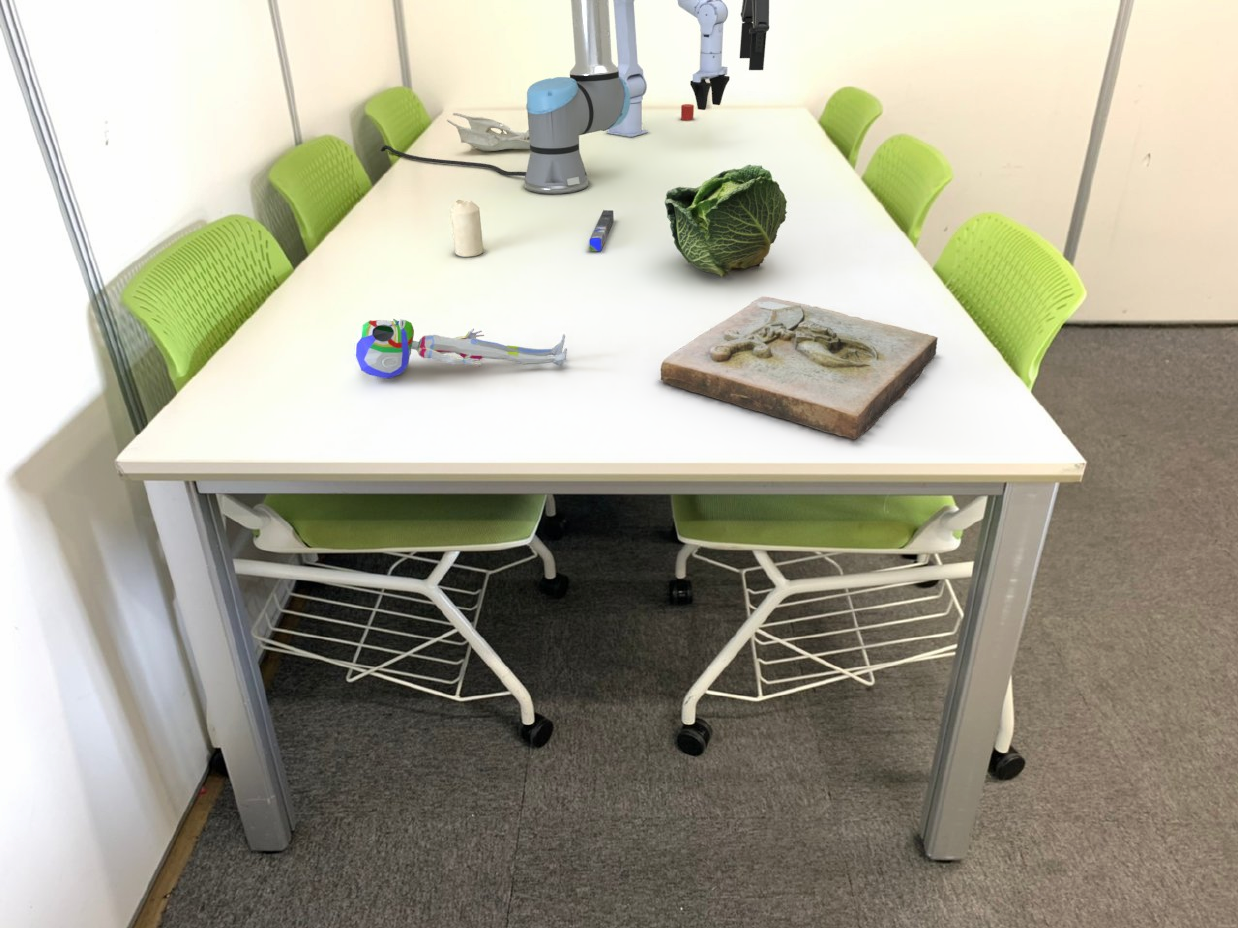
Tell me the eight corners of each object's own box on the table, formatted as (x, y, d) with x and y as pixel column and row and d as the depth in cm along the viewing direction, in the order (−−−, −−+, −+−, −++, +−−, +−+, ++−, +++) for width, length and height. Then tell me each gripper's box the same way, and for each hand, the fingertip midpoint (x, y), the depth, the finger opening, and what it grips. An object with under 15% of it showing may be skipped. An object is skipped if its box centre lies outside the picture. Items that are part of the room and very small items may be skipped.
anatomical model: (457, 110, 251) (543, 108, 247) (461, 144, 256) (546, 143, 252) (440, 121, 238) (531, 120, 235) (445, 157, 243) (534, 156, 240)
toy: (569, 347, 126) (349, 329, 122) (563, 400, 131) (350, 385, 126) (565, 318, 135) (359, 301, 130) (559, 369, 139) (360, 354, 134)
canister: (690, 121, 275) (690, 107, 273) (679, 120, 277) (679, 106, 275) (695, 118, 278) (695, 104, 276) (684, 117, 280) (684, 103, 278)
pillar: (613, 210, 190) (600, 241, 173) (613, 220, 191) (600, 251, 174) (603, 210, 190) (589, 240, 173) (603, 220, 191) (589, 251, 174)
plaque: (865, 393, 108) (658, 335, 123) (857, 444, 112) (657, 381, 127) (948, 314, 129) (763, 273, 144) (939, 359, 133) (759, 314, 148)
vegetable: (694, 294, 173) (643, 202, 166) (775, 239, 175) (728, 145, 167) (734, 307, 155) (678, 205, 147) (824, 245, 156) (773, 141, 149)
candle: (488, 249, 176) (483, 198, 171) (475, 258, 172) (470, 206, 167) (463, 246, 178) (457, 196, 173) (450, 255, 174) (443, 204, 168)
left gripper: (792, -55, 157) (780, 75, 169) (769, -63, 178) (760, 53, 190) (749, -55, 157) (740, 75, 169) (732, -63, 178) (724, 53, 190)
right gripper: (709, 57, 229) (707, 113, 236) (738, 50, 239) (735, 104, 246) (686, 55, 232) (685, 110, 240) (715, 48, 242) (713, 101, 249)
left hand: (750, 64), depth 179 cm, fingers open, 13 cm apart
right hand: (709, 107), depth 243 cm, fingers open, 7 cm apart
